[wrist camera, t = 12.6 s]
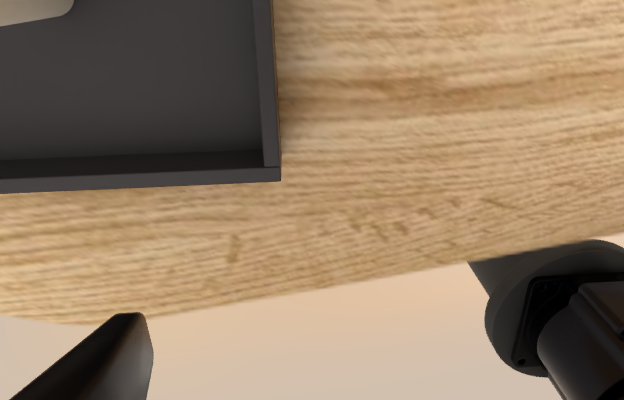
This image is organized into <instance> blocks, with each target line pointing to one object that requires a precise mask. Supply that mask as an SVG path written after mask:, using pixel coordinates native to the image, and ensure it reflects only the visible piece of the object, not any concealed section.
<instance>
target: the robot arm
mask: <svg viewBox="0 0 624 400" xmlns="http://www.w3.org/2000/svg"><path fill="white" fill-rule="evenodd" d="M539 285H540V286H539ZM537 286H539V287H537ZM511 361H512V362H513V364H514V365H515V367H518V368H524V367H540V366H541V367H542V369H543V370H544V372H545V373H546V375H547V376H548V378H549V379H550V381H551V382H552V384H553V385H554V387H555V388H556V390H557V391H558V393H559V394H560V396H561V398H562V399H563V400H624V272H607V273H588V274H571V275H552V276H538V277H535V278H533V279H531V280H530V282H529V284H528V288H527V292H526V296H525V300H524V304H523V308H522V313H521V317H520V321H519V325H518V329H517V333H516V337H515V342H514V346H513V350H512V354H511ZM152 366H153V348H152V343H151V339H150V335H149V331H148V327H147V323H146V319H145V317H144V315H143V314H142V313H140V312H132V313H119V314H116V315H114V316H112V317H111V318H110V319H109V320H107V321H106V322H105V323H104V324H102V325H101V326H100V327H99V328H97V329H96V330H95V331H94V332H93V333H91V334H90V335H89V336H88V337H86V338H85V339H84V340H83V341H81V342H80V343H79V344H78V345H77V346H75V347H74V348H73V349H72V350H70V351H69V352H68V353H67V354H65V355H64V356H63V357H62V358H60V359H59V360H58V361H57V362H55V363H54V364H53V365H52V366H51V367H49V368H48V369H47V370H45V371H44V372H43V373H42V374H41V375H39V376H38V377H37V378H36V379H34V380H33V381H32V382H31V383H29V384H28V385H27V386H26V387H24V388H23V389H22V390H21V391H19V392H18V393H17V394H16V395H15V396H13V397H12V398H11V399H10V400H146V398H147V392H148V387H149V382H150V377H151V371H152Z"/></svg>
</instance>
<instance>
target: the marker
mask: <svg viewBox="0 0 624 400" xmlns="http://www.w3.org/2000/svg"><path fill="white" fill-rule="evenodd" d="M73 3H74V0H0V26H6V25H12V24H17V23H23V22H29V21H35V20H40V19H46V18H52V17H58V16H61V15H64V14H65V13H67V12H68V11H69V10H70V9H71V7H72V5H73Z"/></svg>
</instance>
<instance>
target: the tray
mask: <svg viewBox="0 0 624 400" xmlns="http://www.w3.org/2000/svg"><path fill="white" fill-rule="evenodd" d="M279 181H281V139H280V122H279V104H278V87H277V70H276V53H275V35H274V18H273V1H272V0H74V3H73V5H72V7H71V9H70V10H69V11H68V12H67V13H65V14H64V15H61V16H58V17H52V18H46V19H40V20H35V21H29V22H23V23H17V24H12V25H6V26H0V194H8V193H31V192H53V191H76V190H98V189H121V188H144V187H166V186H189V185H211V184H234V183H256V182H279Z"/></svg>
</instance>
